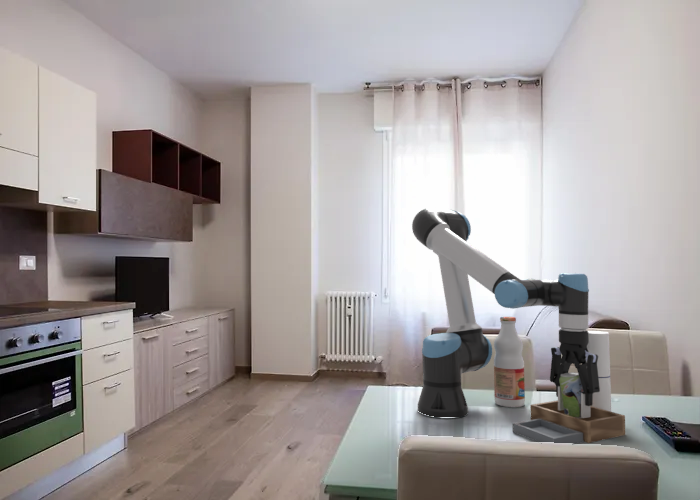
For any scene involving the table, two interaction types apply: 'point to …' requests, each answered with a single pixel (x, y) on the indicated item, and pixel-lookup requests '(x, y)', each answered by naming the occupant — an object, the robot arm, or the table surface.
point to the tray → (547, 431)
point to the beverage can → (571, 393)
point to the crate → (583, 421)
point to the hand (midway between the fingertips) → (573, 413)
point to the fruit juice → (509, 366)
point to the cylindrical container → (601, 368)
